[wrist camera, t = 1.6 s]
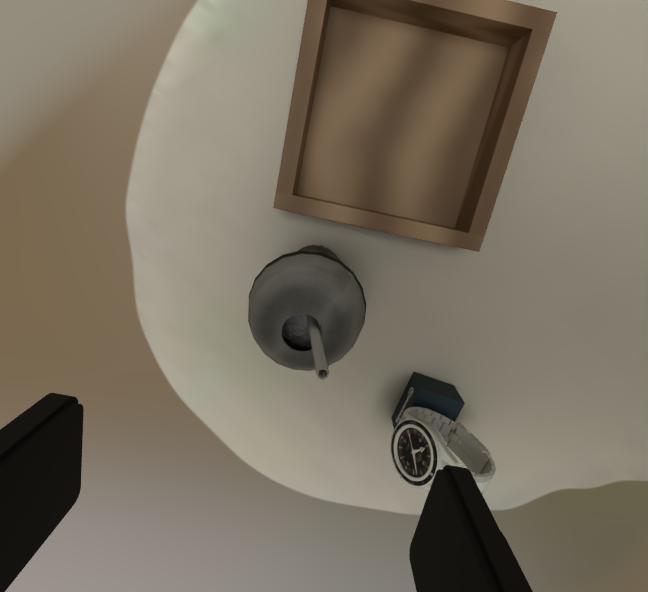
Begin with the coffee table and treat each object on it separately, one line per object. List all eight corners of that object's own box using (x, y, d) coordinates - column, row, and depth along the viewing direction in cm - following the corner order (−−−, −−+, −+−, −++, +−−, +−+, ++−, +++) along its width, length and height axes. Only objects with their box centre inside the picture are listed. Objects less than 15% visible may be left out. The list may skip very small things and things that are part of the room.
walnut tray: (523, 38, 29) (557, 12, 25) (460, 243, 33) (479, 251, 29) (318, -10, 28) (315, -46, 24) (281, 204, 33) (273, 207, 29)
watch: (394, 365, 37) (419, 437, 26) (470, 391, 37) (524, 472, 27) (373, 412, 38) (388, 498, 28) (446, 437, 39) (488, 530, 28)
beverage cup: (270, 232, 34) (187, 294, 14) (353, 226, 33) (381, 281, 14) (279, 310, 36) (217, 456, 16) (357, 305, 35) (387, 448, 16)
